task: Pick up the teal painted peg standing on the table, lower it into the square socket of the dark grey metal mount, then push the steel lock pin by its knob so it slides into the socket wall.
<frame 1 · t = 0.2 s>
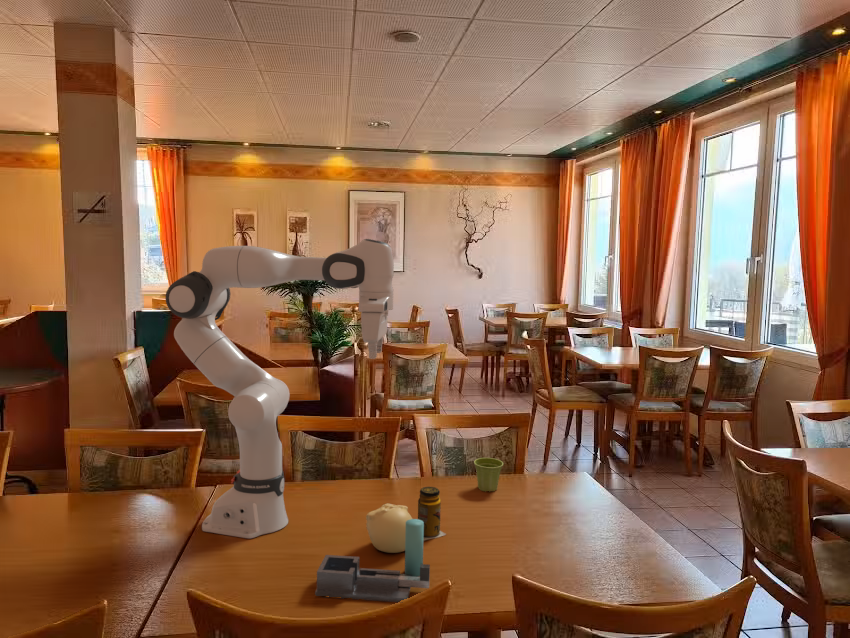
hand: (375, 355, 162), 48 cm above the table, tool pointing down, fingers open, 8 cm apart
mount: (365, 587, 137), on the table
plant pot: (487, 489, 199), on the table
peg: (413, 572, 145), on the table
condiment: (425, 534, 165), on the table
lock pin: (402, 574, 136), point 3 cm above the table, slide at 0.0 cm
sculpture: (391, 547, 157), on the table
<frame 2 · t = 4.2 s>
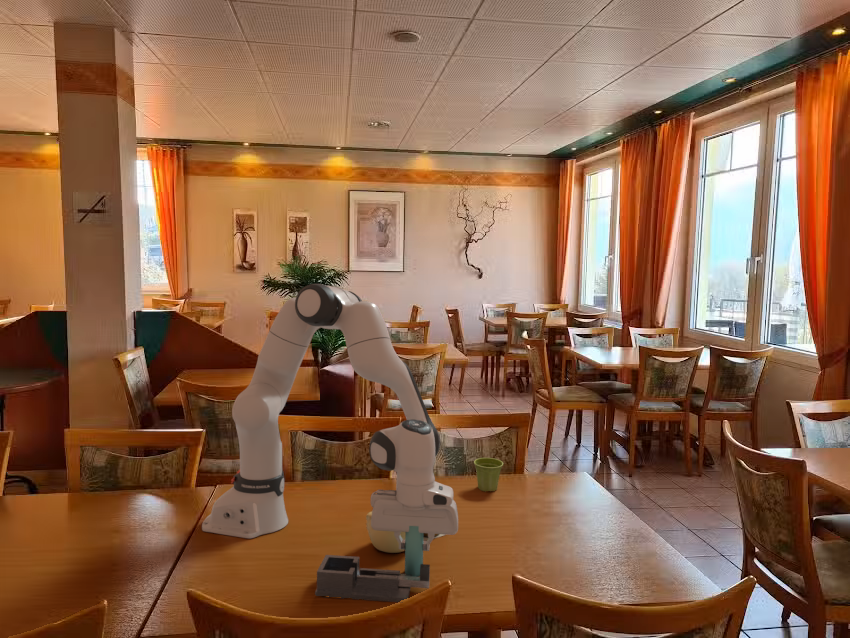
hand: (414, 549, 144), 6 cm above the table, tool pointing down, fingers closed on peg, 4 cm apart
peg: (413, 572, 145), on the table, touching gripper
everything else where it was.
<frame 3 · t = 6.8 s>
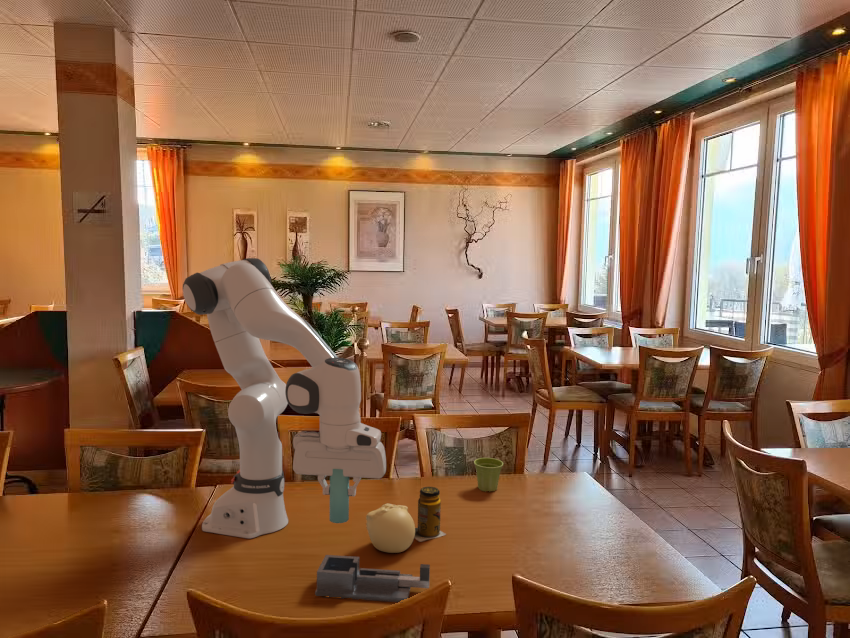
hand: (339, 494, 136), 21 cm above the table, tool pointing down, fingers closed on peg, 4 cm apart
peg: (339, 519, 137), point 15 cm above the table, touching gripper
everything else where it was.
when the fingers open (8 cm above the table, at t = 9.5 s): peg drops 1 cm, resting on mount.
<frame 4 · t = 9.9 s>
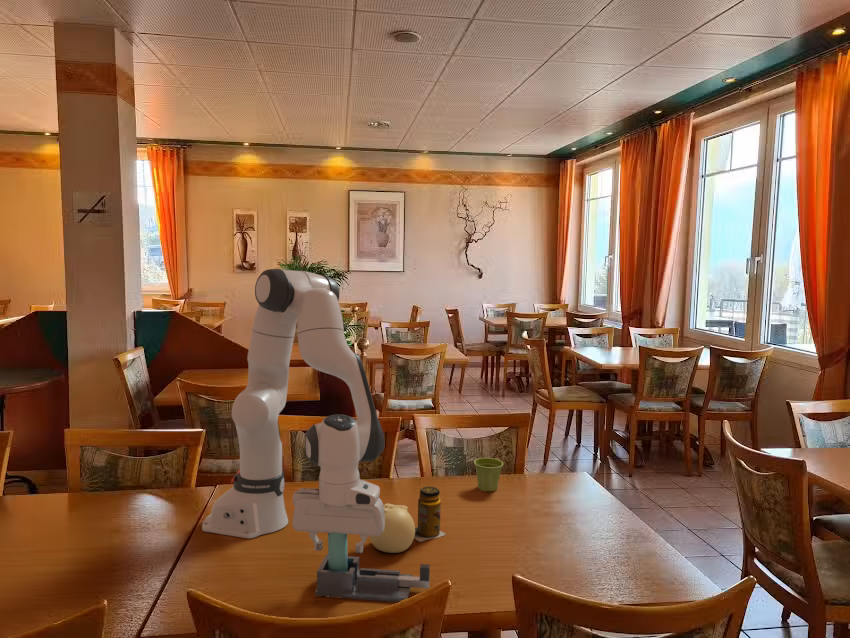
hand: (338, 550, 137), 8 cm above the table, tool pointing down, fingers open, 8 cm apart
peg: (338, 581, 138), point 1 cm above the table, touching mount
everything else where it was.
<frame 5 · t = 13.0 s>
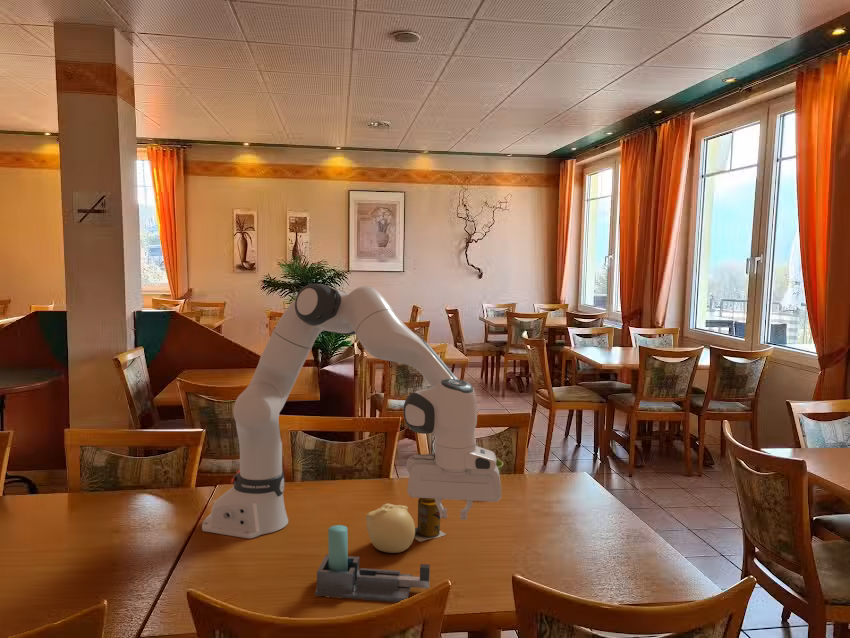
hand: (453, 517, 134), 17 cm above the table, tool pointing down, fingers open, 3 cm apart
nothing on the table moved.
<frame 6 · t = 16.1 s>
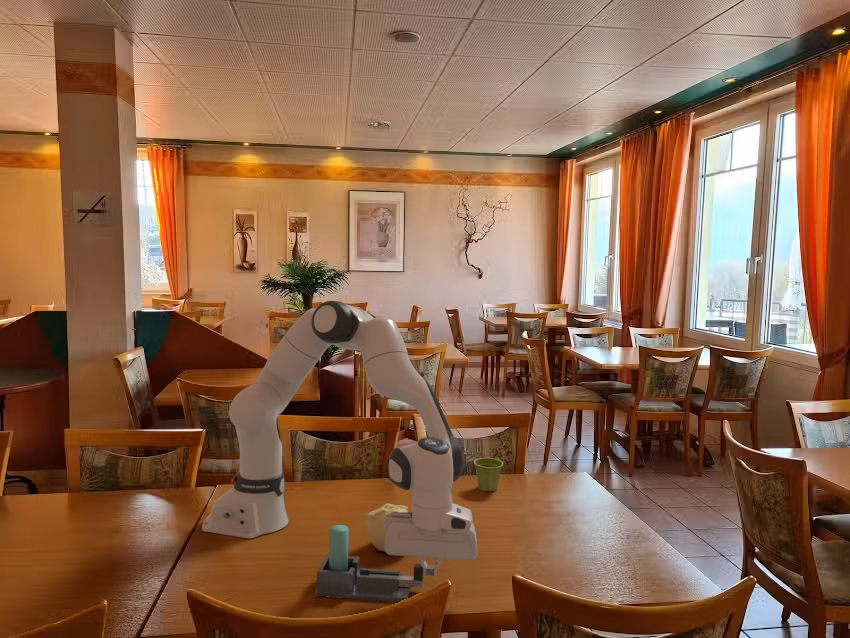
hand: (430, 574, 136), 4 cm above the table, tool pointing down, fingers closed
lock pin: (395, 574, 137), point 3 cm above the table, slide at 1.4 cm, touching gripper
everything else where it was.
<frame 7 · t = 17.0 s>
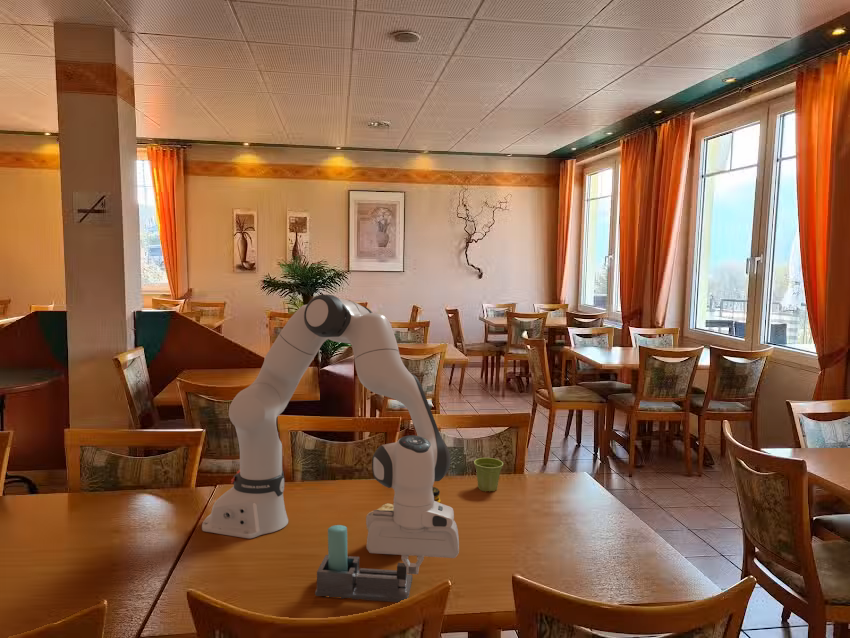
hand: (412, 572, 136), 4 cm above the table, tool pointing down, fingers closed
lock pin: (379, 573, 137), point 3 cm above the table, slide at 5.1 cm, touching gripper
everything else where it was.
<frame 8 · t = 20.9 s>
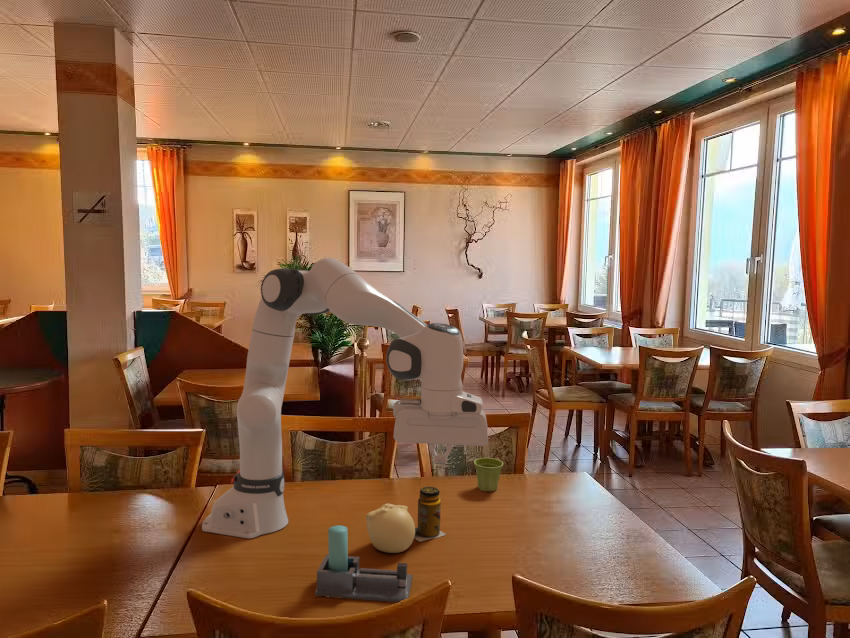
hand: (440, 463, 133), 29 cm above the table, tool pointing down, fingers closed
lock pin: (379, 573, 137), point 3 cm above the table, slide at 5.0 cm
everything else where it was.
at the end: peg 0.1 cm from the target spot on the mount, point 1.0 cm above the mount's base; peg tilted 1°; lock pin slide at 5.0 cm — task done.
